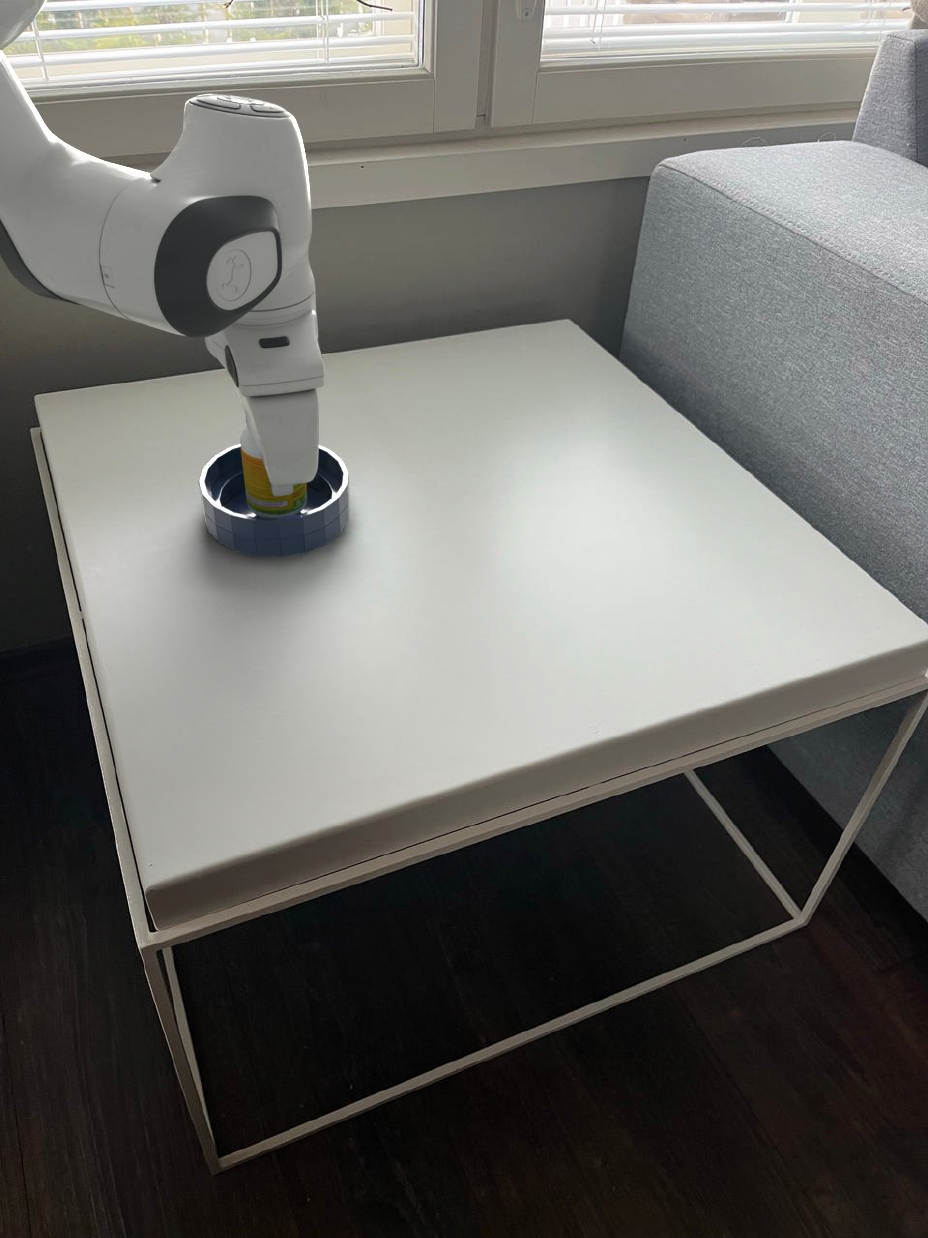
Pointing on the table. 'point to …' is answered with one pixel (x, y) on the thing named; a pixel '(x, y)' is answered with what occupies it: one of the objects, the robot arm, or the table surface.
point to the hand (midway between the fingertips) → (273, 470)
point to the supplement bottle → (266, 484)
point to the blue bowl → (273, 535)
